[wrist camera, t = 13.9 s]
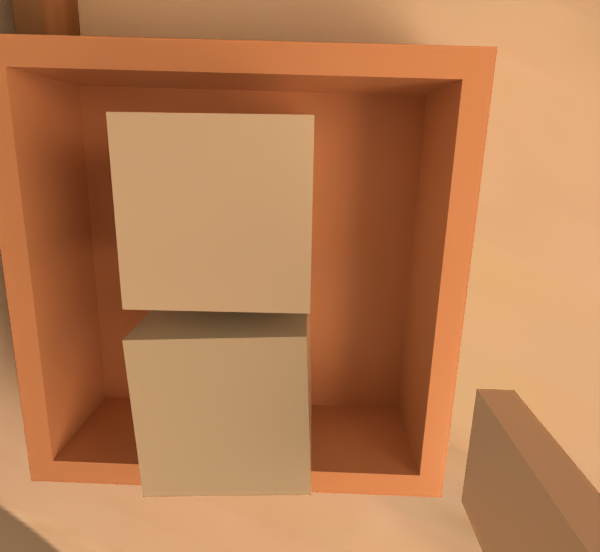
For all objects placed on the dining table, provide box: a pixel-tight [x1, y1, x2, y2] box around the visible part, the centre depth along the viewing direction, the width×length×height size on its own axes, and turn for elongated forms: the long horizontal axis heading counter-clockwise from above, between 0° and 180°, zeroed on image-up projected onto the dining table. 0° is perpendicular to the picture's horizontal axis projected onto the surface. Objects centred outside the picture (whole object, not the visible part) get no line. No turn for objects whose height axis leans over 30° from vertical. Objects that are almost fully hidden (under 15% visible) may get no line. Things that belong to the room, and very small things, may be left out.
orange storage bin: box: [0, 34, 497, 497], centre depth 15 cm, size 12×12×4 cm
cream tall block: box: [106, 112, 314, 314], centre depth 13 cm, size 4×4×6 cm
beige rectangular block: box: [122, 310, 311, 497], centre depth 14 cm, size 4×4×6 cm
